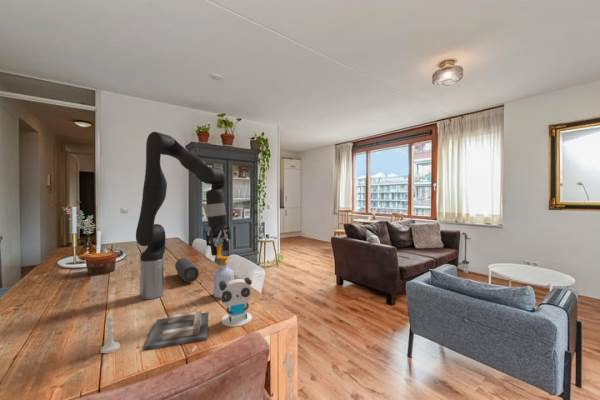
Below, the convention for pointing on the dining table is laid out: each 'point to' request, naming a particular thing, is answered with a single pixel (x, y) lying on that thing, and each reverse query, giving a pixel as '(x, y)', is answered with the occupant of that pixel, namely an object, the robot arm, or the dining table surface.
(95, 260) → the food container
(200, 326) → the u rest
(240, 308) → the panda figurine
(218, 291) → the soap bottle
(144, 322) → the dining table surface
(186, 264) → the bluetooth speaker
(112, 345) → the chess piece
